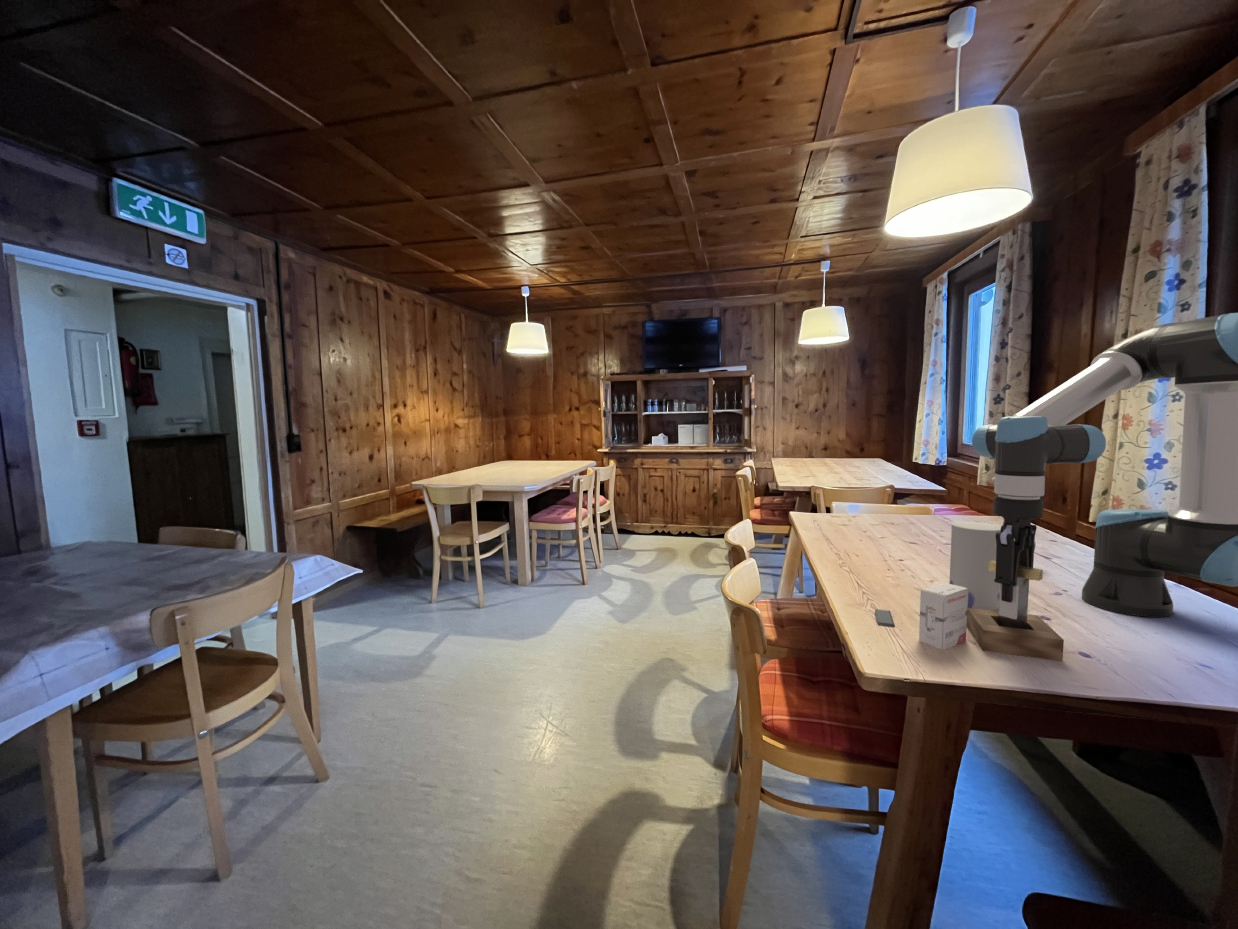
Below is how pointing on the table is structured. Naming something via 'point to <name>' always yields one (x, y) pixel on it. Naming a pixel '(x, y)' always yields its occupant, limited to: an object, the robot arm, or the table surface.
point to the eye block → (1014, 636)
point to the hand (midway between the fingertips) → (1012, 613)
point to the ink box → (943, 615)
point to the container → (975, 562)
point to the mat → (884, 618)
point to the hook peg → (1019, 595)
